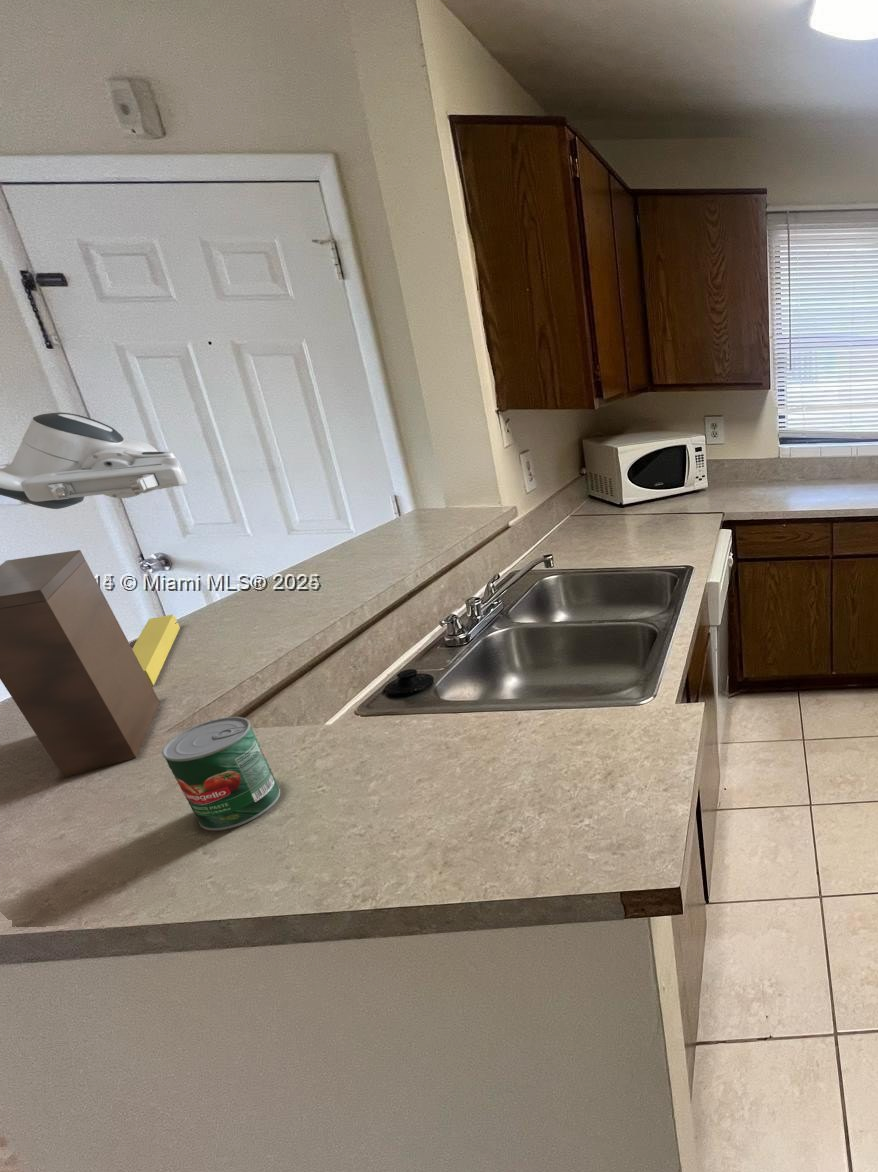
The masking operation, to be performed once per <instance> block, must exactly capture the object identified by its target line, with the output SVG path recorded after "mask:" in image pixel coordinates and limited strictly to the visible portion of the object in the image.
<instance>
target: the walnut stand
mask: <svg viewBox="0 0 878 1172" xmlns="http://www.w3.org/2000/svg"><path fill="white" fill-rule="evenodd" d="M132 648H133V647H132V646H131V644H130V642H129V640H128V638H127V636H126V635H125V633H124V630H123V629H122V627H121V625H120V622H119V621H118V619H117V618H116V616H115V613H114V611H113V610H112V608H111V606H110V604H109V602H108V600H107V599H106V597H105V595H104V592H103V590H102V588H101V587H100V585H99V583H98V581H97V578H95V575H94V574H93V571H92V570H91V568H90V566H89V563H88V561H87V560H86V558H85V556H84V554H83V552H82V551H81V549H77V550H70V551H69V550H68V551H63V552H56V553H49V554H42V555H35V556H28V557H21V558H14V559H7V560H5V561H4V562H3V563H1V564H0V681H1V683H2V684H3V686H4V687H5V689H6V691H7V692H8V693H9V695H10V697H11V698H12V700H13V702H14V703H15V704H16V706H17V708H18V709H19V711H20V713H21V714H22V715H23V717H24V719H25V720H26V722H27V723H28V725H29V726H30V728H31V729H32V731H33V732H34V734H35V736H36V737H37V739H38V740H39V741H40V743H41V745H42V746H43V748H44V749H45V751H46V752H47V754H48V755H49V757H50V759H51V761H52V762H53V764H54V765H55V766H56V768H57V769H58V771H59V773H60V774H61V776H62V777H63V778H68V777H71V776H75V775H78V774H82V773H87V772H89V771H93V770H97V769H101V768H105V767H107V766H111V765H115V764H118V763H122V762H126V761H129V760H132V759H133V760H134V759H136V758H137V756H138V754H139V752H140V749H141V747H142V744H143V742H144V740H145V738H146V735H147V733H148V731H149V728H150V726H151V723H152V721H153V719H154V716H155V714H156V712H157V710H158V706H159V704H160V699H159V697H158V696H157V694H156V692H155V689H154V688H153V686H151V684H150V682H149V680H148V678H147V676H146V674H145V673H144V671H143V669H142V667H141V665H140V663H139V661H138V659H137V657H136V655H135V653H134V652H133V650H132Z"/></svg>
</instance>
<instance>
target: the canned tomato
mask: <svg viewBox="0 0 878 1172" xmlns="http://www.w3.org/2000/svg"><path fill="white" fill-rule="evenodd" d="M260 745H261V744H260V743H259V742H258V738H257V737H256V734H255V731H254V729H253V727H252V725H251V722H250V721H249V719H247V718H245V717H241V716H226V717H220V718H214V719H210V720H208V721H204V722H202V723H198V724H197V725H194V726H191V727H190V728H187V729H185V730H184V731H181V732H180V733H178V734H177V735H175V736H174V737H172V738H171V739H170V740H168V741H167V742H166V744H164V746H163V747H162V750H161V755H162V757H163V758H164V759H165V761H166V763H167V765H168V768H169V769H170V771H171V773H172V775H173V776H174V779H175V781H176V782H177V784H178V785H179V788H180V789H181V791H182V794H183V795H184V797H185V799H186V801H187V803H188V805H189V806H190V808H191V810H192V811H193V814H194V816H195V818H196V819H197V820H198V824H199V826H200V827H201V828H202V829H203V830H206V831H214V832H215V831H216V832H217V831H225V830H229V829H233V828H237V827H239V826H242V825H245V824H247V823H249V822H251V821H254V820H255V819H257V818H259V817H260V816H263V814H265V813H266V812H267V811H268V810H270V809H271V808H272V807H274V805H275V804H276V803H277V802H278V800H279V799H280V796H281V789H280V787H279V785H278V784H277V780H276V778H275V777H274V773H273V772H272V768H270V765H269V763H268V761H267V758H266V757H265V754H264V752H263V749H262V748H261V746H260Z"/></svg>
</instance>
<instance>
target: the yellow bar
mask: <svg viewBox="0 0 878 1172" xmlns="http://www.w3.org/2000/svg"><path fill="white" fill-rule="evenodd" d="M176 622H178V620H177V618H176V616H175V614H167V615H162V616H158V617H153V618H152V617H151V618H149V619H148V620H147V622H146V624H145V625H144V627H143V629H142V631H141V632H140V634H139V636H138V638H137V639H136V641H135V643H134V645H133V647H131V648H132V650H133V652H134V653H135V655H136V657H137V659H138V661H139V663H140V665H141V667H142V669H143V671H144V673H145V674H146V676H147V678H148V680H149V682H150V684H151V686H152V687H153V686H155V684H156V681H157V680H158V677H159V675H160V673H161V670H162V668H163V666H164V664H165V661H166V659H167V657H168V655H169V654H170V651H171V648H172V646H173V644H174V642H175V641H176V637H177V636H178V633H179V631H180V629H181V627H180V624H179V623H176ZM175 623H176V624H175Z"/></svg>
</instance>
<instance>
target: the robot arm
mask: <svg viewBox="0 0 878 1172" xmlns="http://www.w3.org/2000/svg"><path fill="white" fill-rule="evenodd" d="M187 484H188V479H187V476H186V474H185V471H184V469H183V467H182V465H181V462H180V461H179V459H178V458H177V457H176V455H175V454H174V452H172V451H159V450H158V449H156V448H155V447H154V446H153V445H151V444H149V443H148V442H145V441H143V440H139V439H134V438H126V437H123V435H121V433H120V432H119V431H117V430H116V429H115V428H113V427H112V426H110V425H108V424H105V423H103V422H101V421H99V420H95V419H93V418H91V417H87V416H83V415H80V414H76V413H70V412H48V413H41V414H38V415H35V416H33V417H32V420H31V421H30V423H29V425H28V427H27V429H26V430H25V432H24V435H23V436H22V439H21V443H20V445H19V446H18V449H17V450H16V453H15V455H14V457H13V459H12V461H11V462H10V463H9V464H8V465H7V466H5V467H1V468H0V496H3V497H6V498H10V499H13V500H17V501H20V502H22V503H26V504H30V505H31V506H32V505H33V506H37V507H40V508H45V509H51V510H60V509H65V508H68V507H71V506H74V505H77V504H79V503H82V502H83V501H84V499H85V497H91V496H101V495H103V496H106V497H110V498H114V499H115V498H116V499H130V498H133V497H137V496H140V495H141V494H147V493H150V492H152V491H156V490H162V489H167V488H174V487H182V486H185V485H187Z"/></svg>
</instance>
